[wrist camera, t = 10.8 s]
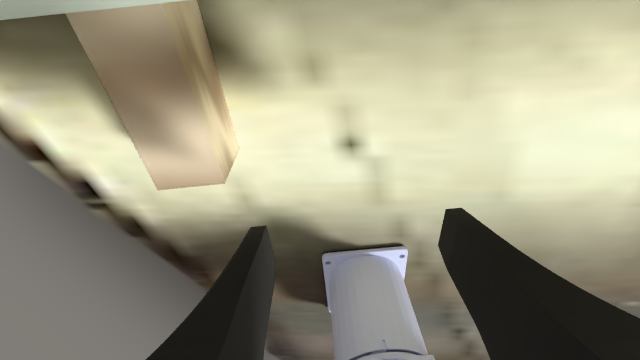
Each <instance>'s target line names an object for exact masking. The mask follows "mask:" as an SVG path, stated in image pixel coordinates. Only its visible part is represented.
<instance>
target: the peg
mask: <svg viewBox="0 0 640 360" xmlns="http://www.w3.org/2000/svg"><path fill="white" fill-rule="evenodd" d="M65 14H66V16H67V18H68V20H69V22H70V24H71V26H72V27H73V29H74V31H75V33H76V35H77V37H78V39H79V41H80V43H81V45H82V47H83V49H84V50H85V52H86V54H87V56H88V58H89V60H90V62H91V64H92V66H93V68H94V70H95V71H96V73H97V75H98V77H99V79H100V81H101V83H102V85H103V87H104V89H105V91H106V92H107V94H108V96H109V98H110V100H111V102H112V104H113V106H114V108H115V110H116V112H117V113H118V115H119V117H120V119H121V121H122V123H123V125H124V127H125V129H126V131H127V133H128V134H129V136H130V138H131V140H132V142H133V144H134V146H135V148H136V150H137V152H138V154H139V156H140V157H141V159H142V161H143V163H144V165H145V167H146V169H147V171H148V173H149V175H150V177H151V178H152V180H153V182H154V184H155V186H156V188H157V190H165V189H175V188H185V187H195V186H205V185H215V184H225V182H226V179H227V177H228V174H229V172H230V170H231V167H232V165H233V162H234V160H235V158H236V155H237V153H238V151H239V145H238V142H237V138H236V135H235V131H234V128H233V124H232V121H231V117H230V114H229V110H228V107H227V104H226V100H225V97H224V93H223V90H222V86H221V83H220V79H219V76H218V72H217V69H216V65H215V62H214V58H213V55H212V51H211V48H210V44H209V41H208V37H207V34H206V31H205V27H204V24H203V20H202V17H201V13H200V10H199V6H198V3H197V0H187V1H177V2H168V3H158V4H149V5H139V6H130V7H120V8H111V9H102V10H92V11H83V12H73V13H65Z"/></svg>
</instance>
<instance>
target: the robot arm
mask: <svg viewBox="0 0 640 360" xmlns="http://www.w3.org/2000/svg"><path fill="white" fill-rule="evenodd" d="M438 246H439V249H440V252H441V255H442V257H443V260H444V263H445V265H446V268H447V270H448V272H449V274H450V276H451V278H452V280H453V282H454V284H455V286H456V288H457V290H458V291H459V293H460V295H461V297H462V299H463V301H464V303H465V305H466V307H467V309H468V310H469V312H470V314H471V316H472V318H473V320H474V322H475V324H476V326H477V328H478V330H479V332H480V335H481V337H482V340H483V342H484V344H485V347H486V349H487V352H488V354H489V357H490V359H491V360H640V318H638V317H636V316H633V315H631V314H629V313H627V312H625V311H623V310H621V309H619V308H617V307H615V306H613V305H611V304H609V303H607V302H605V301H603V300H601V299H600V298H598V297H596V296H594V295H592V294H590V293H588V292H586V291H584V290H583V289H581V288H579V287H577V286H575V285H574V284H572V283H570V282H569V281H567V280H565V279H563V278H562V277H560V276H558V275H556V274H555V273H553V272H552V271H550V270H548V269H547V268H545V267H543V266H542V265H540V264H539V263H537V262H536V261H534V260H533V259H531V258H530V257H528V256H527V255H525V254H524V253H522V252H521V251H519V250H518V249H516V248H515V247H514V246H512V245H511V244H509V243H508V242H507V241H505V240H504V239H502V238H501V237H500V236H498V235H497V234H496V233H494V232H493V231H492V230H490V229H489V228H488V227H486V226H485V225H484V224H482V223H481V222H480V221H478V220H477V219H476V218H474V217H473V216H472V215H470V214H469V213H468V212H466V211H465V210H464V209H462V208H454V209H446V211H445V216H444V220H443V225H442V229H441V234H440V239H439V243H438ZM407 254H408V251H407V248H406V247H404V246H400V247H389V248H377V249H366V250H355V251H344V252H333V253H325V254H323V255H322V262H323V270H324V278H325V286H326V294H327V302H328V310H329V312H331V315H332V328H333V341H334V354H335V360H435V358H434V356H433V355H428V353H427V350H426V347H425V344H424V341H423V338H422V335H421V332H420V329H419V326H418V323H417V320H416V317H415V314H414V311H413V308H412V305H411V302H410V299H409V296H408V293H407V290H406V287H405V284H404V277H405V269H406V262H407ZM327 261H328V262H327ZM274 279H275V256H274V253H273V249H272V245H271V241H270V238H269V234H268V230H267V226H258V227H251V228H250V229H249V231H248V232H247V234H246V236H245V238H244V239H243V241H242V243H241V244H240V246H239V247H238V249H237V251H236V252H235V254H234V255H233V257H232V258H231V260H230V261H229V263H228V264H227V266H226V267H225V269H224V270H223V272H222V273H221V275H220V276H219V277H218V279H217V280H216V282H215V283H214V284H213V286H212V287H211V288H210V290H209V291H208V292H207V294H206V295H205V296H204V297H203V299H202V300H201V301H200V302H199V304H198V305H197V306H196V307H195V308H194V310H193V311H192V312H191V313H190V314H189V315H188V317H187V318H186V319H185V320H184V321H183V322H182V323H181V324H180V326H179V327H178V328H177V329H176V330H175V331H174V332H173V333H172V334H171V335H170V336H169V337H168V338H167V339H166V340H165V342H163V344H161V345H160V346H159V347H158V349H156V350H155V351H154V352H153V353H152V354H151V355H150V356H149V357H148V358H147V359H146V360H263V356H264V346H265V338H266V332H267V326H268V320H269V314H270V308H271V301H272V295H273V289H274Z"/></svg>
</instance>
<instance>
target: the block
mask: <svg viewBox="0 0 640 360" xmlns="http://www.w3.org/2000/svg"><path fill="white" fill-rule="evenodd" d="M177 1H187V0H0V20H7V19H16V18H26V17H35V16H45V15H54V14H64V13H73V12H83V11H92V10H102V9H111V8H120V7H130V6H139V5H149V4H158V3H168V2H177Z"/></svg>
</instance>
